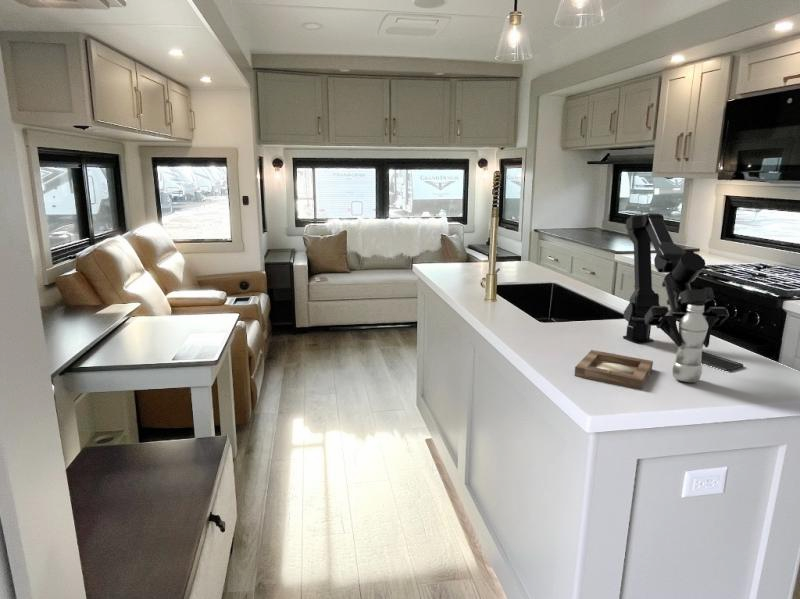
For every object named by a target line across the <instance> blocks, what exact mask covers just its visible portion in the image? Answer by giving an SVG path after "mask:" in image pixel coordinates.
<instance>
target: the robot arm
mask: <svg viewBox="0 0 800 599" xmlns="http://www.w3.org/2000/svg"><path fill="white" fill-rule="evenodd" d="M664 220H665V219H664V215H663V214H661V213H645V214H631V215H630V216H629V217H628V218H626V222H625V228H626V231H627V237H628V238H629V240H630V241H631V242H632V244H633V261H634V264H633V265H634V266H633V268H634V270H633V271H634V291H633V293H632V294H631V296H630V298H629V303H628V304H627V306H626V307H625V309H624V311H623V319H624V320H625V321H627V326H626V334H625V335H622V339H626V340H627V341H630V342H633V343H635V344H643V343H649V342H654V339H653V338H651V330H652V329H651V328H652V326H656V329H660V330H662V332H664V334H666V335H667V336H668V337H669V338H670V340H671V341H672V342H673V343H674V344H675V345H676V346H677V348H678V347H680V346H681V339H680V335H679V328H678V326H677V320H679V321H680V320H681V318H682V317H683V316H684V315H685V314H686V313H687V312H688V311H686V308H687V304H688V303H702V304H707V303H708V302H710V301H713V300H714V298H715V295H714V290H713V288H712V287H703V288H701V289H692V288H691V284H690V283H692V282H694V281H695V280H696V278H697V277H698V276H699V274H700V273H701V272H702V271H703V269H704V268H705V267H706V261H705V259H704V258H703V257H702V256H701V255H700V254H698V253H696V252H694V249H689V248H688V249H683V248H682V247H680V246H679V245H677V244H675V243H674V240H673V239H672V237H671V235H670V231H669V230H668V228H667V225H666V224H665V222H664ZM651 243H652V245H651ZM652 246H653V248H654V250H655V254H656V255H655V257H654V258H653V261H654V268H655V269H656V271H657V272H658V273H660V274H661V273H664V274H665V273H666V275H665V276H664V278H663V280H662V282H661V286H662V287H664V288H665V290H666V295H667V300H666V305H667V306H670V309H669V308H668V307H667V306H666V305H665V306H663V305H660V296H659V294H658V292H657V293H656V292H655V291H654V289H653V282H652V281H653V280H652V279H653V277H652V248H651V247H652ZM703 316H704V317H705V319H706V320H707V322H708V330H707V334H706V337H705V340H704V344H703V347H705V348H708V347H709V346H710V339H711V332H712V328H713V327H714V328H716V327H720V326H721V325H722V324H723V323H724V322H725V321H726V320H727V319H728V318H729V317H730V314H729V310H728V309H727V308H726V307H724V306H710V307H709V308H707V310H706V311H704V313H703Z"/></svg>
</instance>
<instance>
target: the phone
mask: <svg viewBox="0 0 800 599" xmlns="http://www.w3.org/2000/svg"><path fill="white" fill-rule="evenodd" d="M701 363H702V364H701V365H703V364H706V365H708V366H707V367H710V366H712V367H711V368H713V367H715V368H714V369H716V368H718V369H717V370H719V369H721V370H720V371H722V370H724V371H723V372H725V371H732V372H734V371H733V370H735V371H736V369H738V370H740V369H739V368H742V367H743V368H744V364H743V363H741V362H738V361H734V360H731V359H728V358H726V357H725V358H724V357H722V356H718V355H714V354H712V353H708V352H704V351H702V361H701ZM706 365H705V366H706ZM743 368H742V369H743Z"/></svg>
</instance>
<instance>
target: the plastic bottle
mask: <svg viewBox="0 0 800 599" xmlns="http://www.w3.org/2000/svg"><path fill="white" fill-rule="evenodd" d="M686 311H688V312H687V313H686V314H685V315H684V316H683V317H682V318H681V320H679V322H678V332H679V335H680V339H681V346H680V347H678V346H677V350H676V355H675V361H674V362H673V365H672V368H671V370H672V372H671V373H672V376H673V378H674V379H676V380H677V381H681V382H684V383H697V382H698V381H699V380H700V379H701V377H702V374H703V368H702V365H703V364H701V361H702V352H703V349H704V340H705V337H706V334H707V330H708V322H707V320H706V319H705V317H704V316H703V313H704V312H705V303H703V304H702V303H688V304H687V308H686Z"/></svg>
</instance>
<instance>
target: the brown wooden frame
mask: <svg viewBox="0 0 800 599" xmlns="http://www.w3.org/2000/svg"><path fill="white" fill-rule="evenodd" d="M653 365H654V360H650V359H644V358H638V357H632V356H628V355H621V354H617V353H610V352H606V351H599V350H595V349H591V350H590V351H589V352H588V353H587V354H586V355H585V356H584V357H583V358H582V359H581V361H579V363H578V364H577V365H575V367H574V377H579V378H584V379H588V380H594V381H599V382H603V383H608V384H613V385H618V386H623V387H627V388H632V389H635V390H636V389H638V390H642V388H643V386H644V384H645V382H646V381H647V379H648V378H649V376H650V374H651V373H652V371H653Z"/></svg>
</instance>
